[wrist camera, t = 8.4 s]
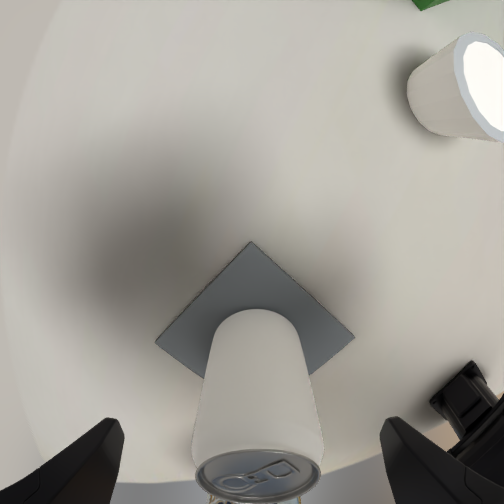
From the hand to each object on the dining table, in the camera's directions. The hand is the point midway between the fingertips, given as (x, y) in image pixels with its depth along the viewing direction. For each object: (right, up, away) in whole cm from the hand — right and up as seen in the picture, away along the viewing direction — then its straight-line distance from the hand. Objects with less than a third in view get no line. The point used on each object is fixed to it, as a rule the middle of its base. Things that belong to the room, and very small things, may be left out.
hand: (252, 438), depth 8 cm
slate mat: (0, -1, +14) cm, 14 cm away
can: (0, -1, +14) cm, 14 cm away
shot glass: (+14, +17, +9) cm, 24 cm away
